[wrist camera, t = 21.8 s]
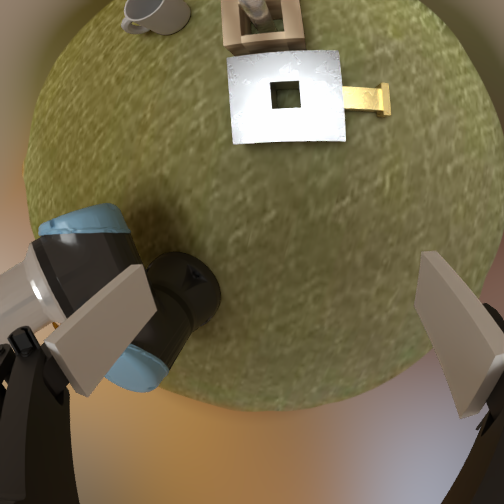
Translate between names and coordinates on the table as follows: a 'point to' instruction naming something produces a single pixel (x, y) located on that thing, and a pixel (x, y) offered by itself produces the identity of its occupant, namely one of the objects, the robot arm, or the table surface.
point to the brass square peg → (368, 99)
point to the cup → (155, 16)
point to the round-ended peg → (259, 15)
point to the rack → (243, 43)
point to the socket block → (281, 78)
